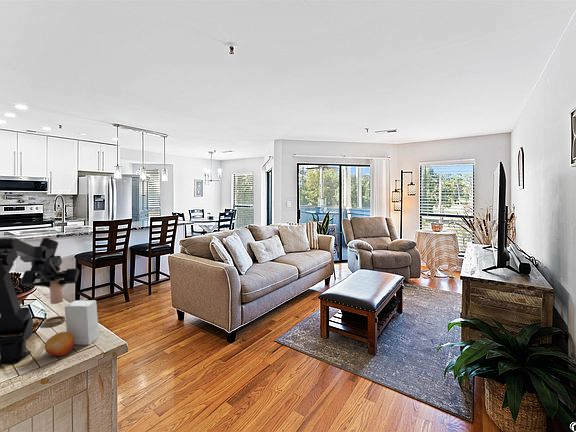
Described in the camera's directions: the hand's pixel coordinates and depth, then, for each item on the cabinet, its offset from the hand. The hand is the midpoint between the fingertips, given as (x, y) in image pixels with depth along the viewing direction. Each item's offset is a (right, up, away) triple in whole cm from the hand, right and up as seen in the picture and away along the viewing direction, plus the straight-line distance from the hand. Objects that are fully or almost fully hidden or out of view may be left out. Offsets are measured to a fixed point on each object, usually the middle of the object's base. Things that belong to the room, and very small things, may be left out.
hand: (57, 286), depth 129 cm
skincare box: (+25, -16, -20) cm, 36 cm away
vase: (0, -7, -1) cm, 7 cm away
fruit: (+23, -17, -28) cm, 40 cm away
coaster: (+3, -14, -6) cm, 15 cm away
